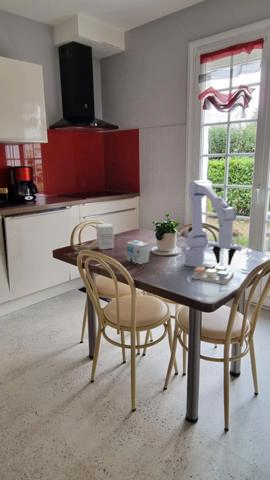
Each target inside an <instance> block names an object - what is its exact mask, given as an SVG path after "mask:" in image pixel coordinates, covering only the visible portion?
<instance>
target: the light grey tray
mask: <svg viewBox="0 0 270 480" xmlns="http://www.w3.org/2000/svg"><path fill="white" fill-rule="evenodd" d="M203 268H204V266H203ZM214 269H215V270H216V268H214ZM226 271H227V272H229V275H228V276H227V277H226V278H225V277H219V276H217V274H218V271H217V273H216V274H215V275H208V274H206V269H205V272H204V273H203V274H202V273H196V272H194V273H193V274H192V275H191V276H192V277H191V279H193V278H194V279H195V280H198V279H200V281H204V282H210V283H217V284H221V285H228V283H229V281H231V279H232V278H233V277H234V274H235V272H232V271H228V270H226Z"/></svg>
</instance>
